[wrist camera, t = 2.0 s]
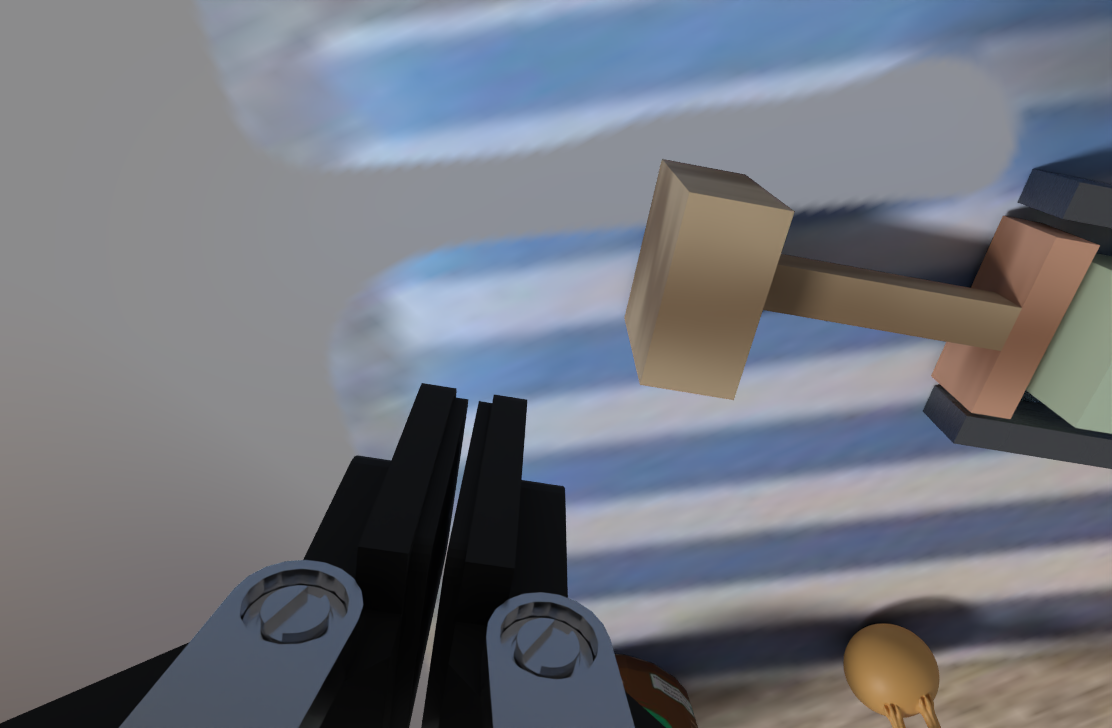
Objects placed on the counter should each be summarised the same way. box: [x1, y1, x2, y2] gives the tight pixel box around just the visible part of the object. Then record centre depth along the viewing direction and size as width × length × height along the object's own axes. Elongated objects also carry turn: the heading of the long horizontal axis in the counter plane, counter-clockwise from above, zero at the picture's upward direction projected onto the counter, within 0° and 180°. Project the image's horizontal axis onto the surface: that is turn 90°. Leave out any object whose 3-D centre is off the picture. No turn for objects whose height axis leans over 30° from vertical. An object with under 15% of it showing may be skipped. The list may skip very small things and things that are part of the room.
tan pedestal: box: [625, 159, 1100, 419], centre depth 24 cm, size 6×14×6 cm, turn 80°
